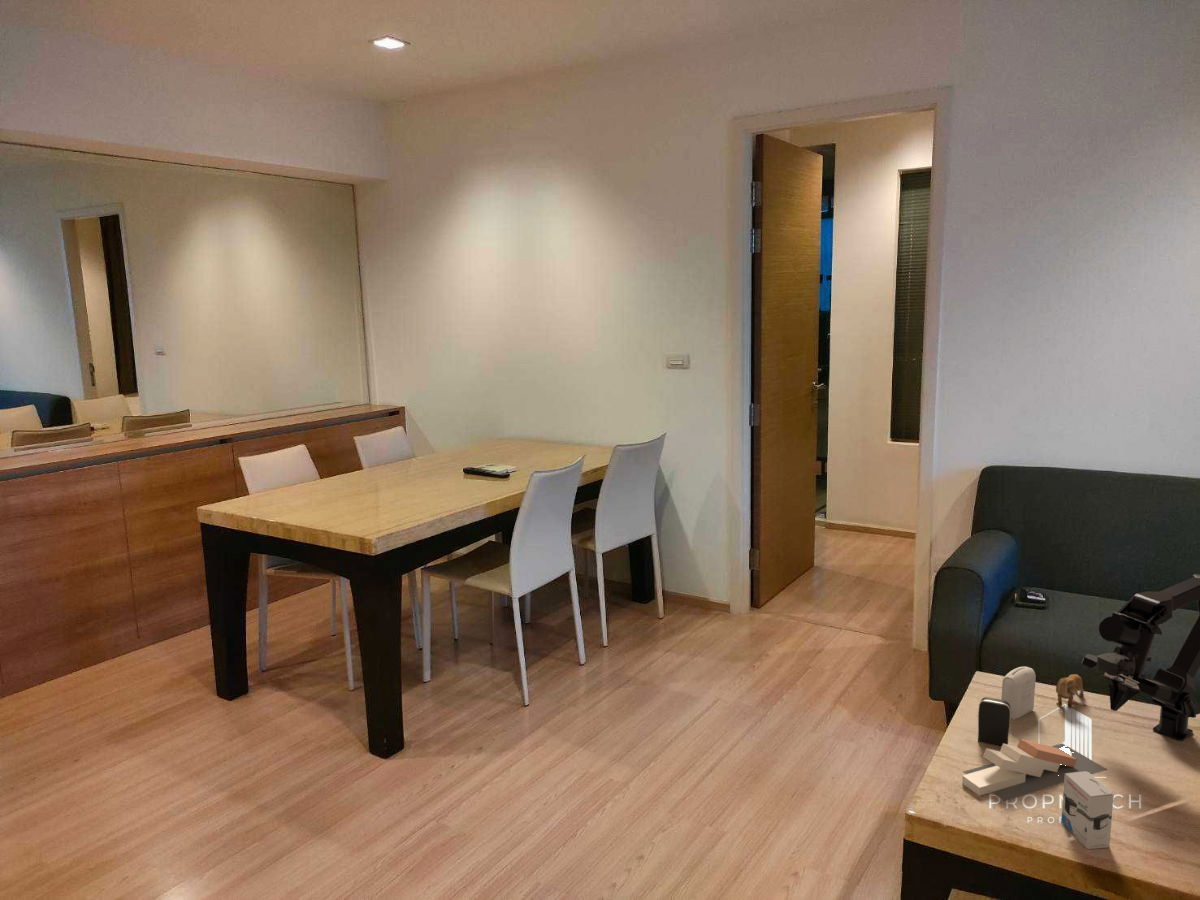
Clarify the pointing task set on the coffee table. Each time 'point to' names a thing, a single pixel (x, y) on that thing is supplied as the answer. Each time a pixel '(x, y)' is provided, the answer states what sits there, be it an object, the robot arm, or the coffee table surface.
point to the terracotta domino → (1046, 753)
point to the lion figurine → (1069, 689)
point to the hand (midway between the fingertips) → (1113, 710)
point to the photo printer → (1019, 691)
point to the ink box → (1087, 809)
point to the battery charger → (993, 721)
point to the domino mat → (1044, 776)
